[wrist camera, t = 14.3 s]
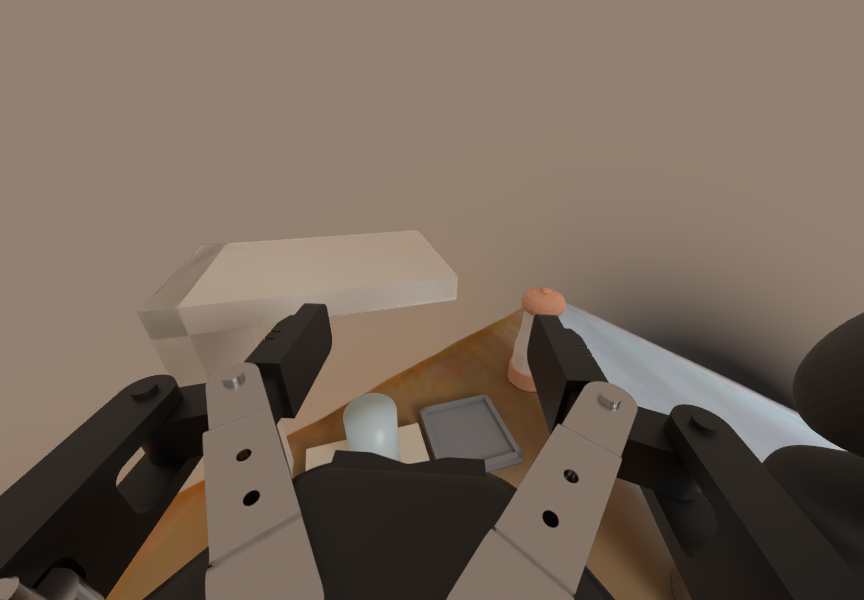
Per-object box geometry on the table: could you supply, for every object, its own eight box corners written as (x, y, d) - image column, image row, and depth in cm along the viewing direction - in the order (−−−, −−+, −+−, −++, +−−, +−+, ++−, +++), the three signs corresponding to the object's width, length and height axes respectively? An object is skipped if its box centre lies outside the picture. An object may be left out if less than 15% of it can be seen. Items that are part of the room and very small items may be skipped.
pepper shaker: (553, 377, 61) (577, 288, 51) (535, 398, 56) (559, 304, 47) (519, 360, 65) (535, 274, 56) (500, 378, 60) (515, 288, 51)
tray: (485, 400, 55) (486, 393, 55) (521, 462, 45) (523, 454, 44) (419, 415, 52) (419, 408, 51) (442, 485, 42) (442, 478, 41)
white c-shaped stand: (417, 431, 49) (417, 230, 34) (442, 510, 39) (457, 276, 24) (278, 465, 44) (201, 244, 28) (265, 566, 34) (137, 312, 18)
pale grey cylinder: (395, 446, 45) (390, 388, 39) (405, 486, 40) (401, 426, 34) (352, 458, 43) (341, 399, 38) (357, 501, 38) (345, 441, 33)
